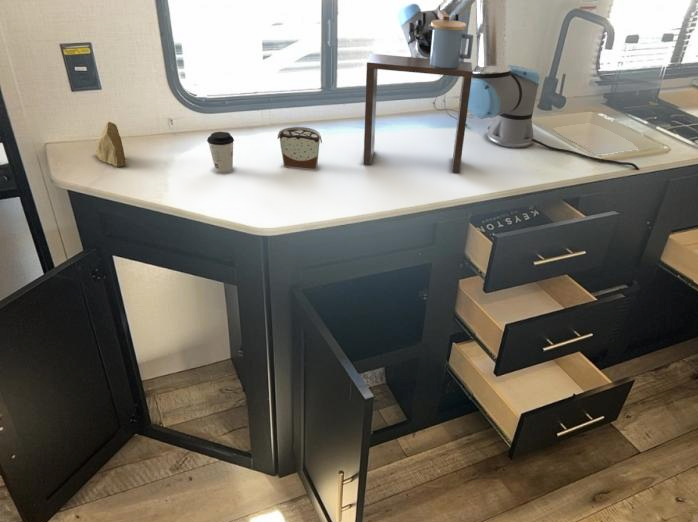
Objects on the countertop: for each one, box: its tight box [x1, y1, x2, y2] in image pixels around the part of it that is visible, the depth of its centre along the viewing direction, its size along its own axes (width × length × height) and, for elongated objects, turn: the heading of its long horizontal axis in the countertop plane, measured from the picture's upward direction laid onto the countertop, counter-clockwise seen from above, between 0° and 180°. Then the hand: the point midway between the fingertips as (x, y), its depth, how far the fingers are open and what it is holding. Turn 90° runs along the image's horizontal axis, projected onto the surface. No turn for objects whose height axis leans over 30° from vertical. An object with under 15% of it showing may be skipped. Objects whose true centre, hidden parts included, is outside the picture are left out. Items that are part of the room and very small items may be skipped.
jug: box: [428, 25, 474, 68], centre depth 160 cm, size 12×8×10 cm, turn 86°
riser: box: [363, 53, 473, 174], centre depth 171 cm, size 28×10×28 cm, turn 86°
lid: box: [431, 10, 467, 31], centre depth 160 cm, size 9×19×2 cm, turn 6°
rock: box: [95, 121, 126, 168], centre depth 163 cm, size 11×9×10 cm
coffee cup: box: [206, 131, 235, 175], centre depth 162 cm, size 7×7×10 cm
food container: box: [276, 126, 323, 171], centre depth 169 cm, size 12×6×10 cm, turn 84°
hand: (440, 18), depth 164 cm, fingers open, 8 cm apart
